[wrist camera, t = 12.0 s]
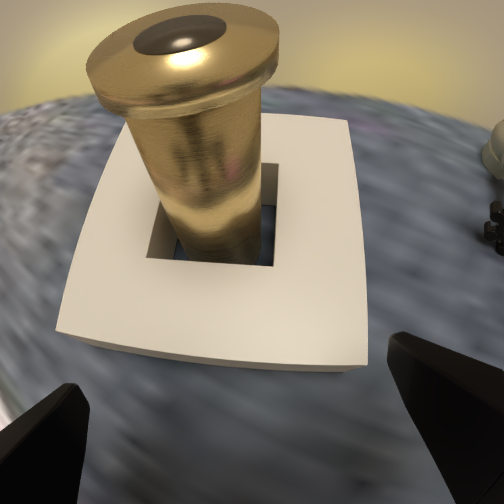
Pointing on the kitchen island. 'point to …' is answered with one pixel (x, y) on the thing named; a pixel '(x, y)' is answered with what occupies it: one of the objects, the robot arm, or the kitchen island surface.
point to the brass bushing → (196, 117)
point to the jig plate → (230, 265)
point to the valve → (500, 165)
